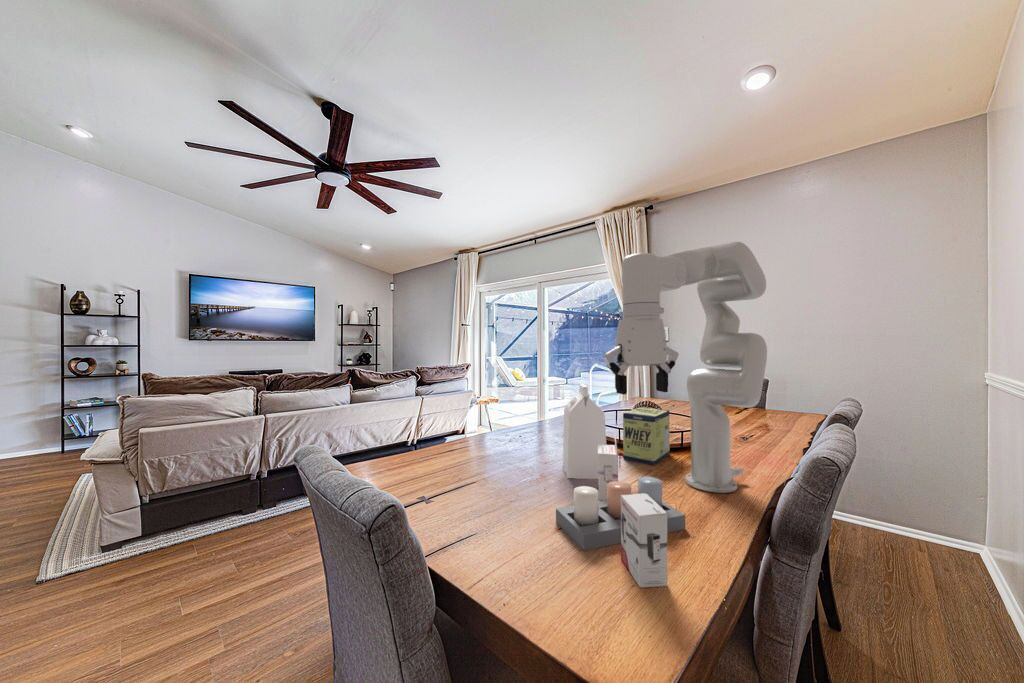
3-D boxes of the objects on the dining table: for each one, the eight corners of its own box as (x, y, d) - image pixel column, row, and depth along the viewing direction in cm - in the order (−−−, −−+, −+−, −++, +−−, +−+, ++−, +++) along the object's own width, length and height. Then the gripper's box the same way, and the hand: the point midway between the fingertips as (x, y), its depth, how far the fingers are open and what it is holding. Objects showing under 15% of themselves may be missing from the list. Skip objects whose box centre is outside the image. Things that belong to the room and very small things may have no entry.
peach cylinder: (622, 507, 83) (621, 480, 83) (636, 517, 79) (636, 488, 79) (602, 510, 82) (602, 483, 82) (616, 521, 77) (615, 491, 77)
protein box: (622, 459, 125) (622, 412, 125) (640, 449, 137) (640, 406, 137) (654, 466, 118) (654, 416, 118) (670, 454, 130) (670, 409, 130)
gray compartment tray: (647, 505, 90) (646, 493, 90) (685, 529, 78) (685, 514, 78) (555, 522, 82) (555, 508, 82) (583, 551, 71) (583, 535, 71)
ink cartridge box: (597, 487, 101) (596, 432, 101) (616, 488, 100) (616, 433, 100) (598, 500, 93) (597, 441, 93) (618, 502, 92) (618, 441, 92)
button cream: (590, 512, 81) (590, 484, 81) (603, 523, 76) (603, 493, 76) (569, 516, 79) (569, 488, 79) (581, 527, 74) (581, 497, 74)
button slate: (651, 502, 86) (651, 475, 86) (667, 511, 81) (667, 483, 81) (633, 505, 84) (633, 478, 84) (648, 514, 80) (648, 486, 80)
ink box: (619, 557, 68) (619, 493, 68) (645, 556, 69) (645, 492, 69) (639, 589, 60) (639, 514, 60) (669, 587, 60) (668, 513, 60)
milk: (608, 478, 108) (607, 387, 108) (567, 478, 108) (567, 388, 108) (598, 464, 120) (598, 383, 120) (562, 465, 120) (562, 383, 120)
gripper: (665, 314, 86) (666, 388, 86) (595, 314, 82) (597, 392, 82) (687, 311, 79) (688, 393, 79) (612, 311, 75) (613, 397, 75)
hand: (641, 392), depth 81 cm, fingers open, 9 cm apart
